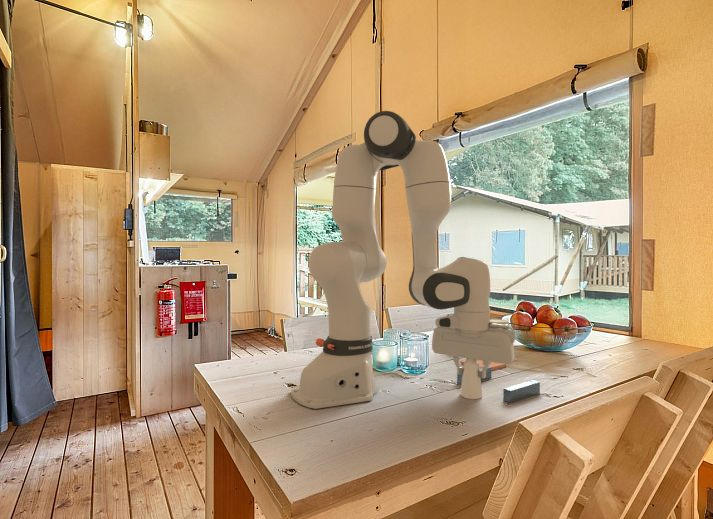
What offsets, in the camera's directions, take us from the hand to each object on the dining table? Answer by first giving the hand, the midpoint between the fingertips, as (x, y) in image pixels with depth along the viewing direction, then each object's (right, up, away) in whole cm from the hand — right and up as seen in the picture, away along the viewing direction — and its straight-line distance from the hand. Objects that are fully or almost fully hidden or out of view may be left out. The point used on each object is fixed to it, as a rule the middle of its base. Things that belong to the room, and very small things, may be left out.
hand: (471, 375), depth 98 cm
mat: (+12, -5, +26) cm, 29 cm away
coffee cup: (+21, -5, +41) cm, 46 cm away
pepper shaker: (0, -5, 0) cm, 5 cm away
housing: (+9, -5, +5) cm, 11 cm away
